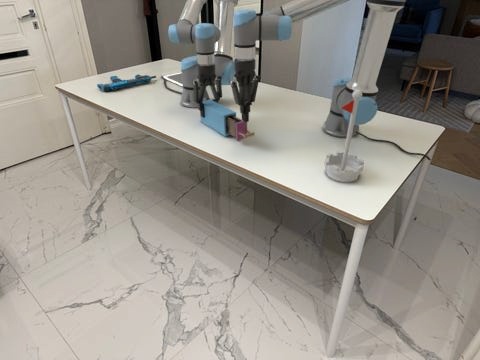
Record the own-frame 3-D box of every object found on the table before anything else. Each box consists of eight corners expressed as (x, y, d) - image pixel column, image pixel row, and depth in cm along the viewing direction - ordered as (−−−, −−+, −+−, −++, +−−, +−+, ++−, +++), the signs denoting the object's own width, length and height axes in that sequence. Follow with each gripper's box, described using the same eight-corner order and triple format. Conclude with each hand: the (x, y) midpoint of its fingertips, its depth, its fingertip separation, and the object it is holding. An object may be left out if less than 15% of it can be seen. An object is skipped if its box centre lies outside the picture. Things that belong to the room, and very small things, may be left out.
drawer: (255, 142, 136) (255, 125, 132) (245, 145, 134) (244, 128, 130) (221, 123, 154) (221, 107, 150) (212, 125, 151) (211, 109, 148)
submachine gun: (141, 69, 223) (160, 75, 207) (142, 74, 225) (161, 81, 209) (89, 79, 205) (105, 87, 188) (91, 85, 207) (107, 93, 190)
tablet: (160, 77, 217) (160, 76, 217) (187, 71, 229) (187, 71, 228) (188, 89, 197) (188, 88, 197) (215, 82, 208) (215, 81, 208)
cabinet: (236, 132, 147) (236, 112, 142) (224, 136, 144) (223, 115, 139) (212, 118, 162) (210, 99, 157) (200, 121, 159) (199, 102, 154)
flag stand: (346, 161, 127) (361, 81, 110) (369, 179, 117) (390, 94, 100) (316, 168, 123) (327, 86, 106) (337, 186, 113) (353, 99, 96)
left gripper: (220, 58, 151) (222, 108, 163) (181, 65, 142) (186, 117, 154) (229, 62, 146) (230, 113, 158) (190, 69, 137) (194, 122, 149)
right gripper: (253, 53, 125) (253, 114, 138) (223, 59, 119) (226, 121, 132) (266, 57, 120) (264, 119, 133) (235, 63, 114) (236, 128, 127)
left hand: (209, 114), depth 156 cm, fingers closed on cabinet, 6 cm apart
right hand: (245, 120), depth 133 cm, fingers closed
